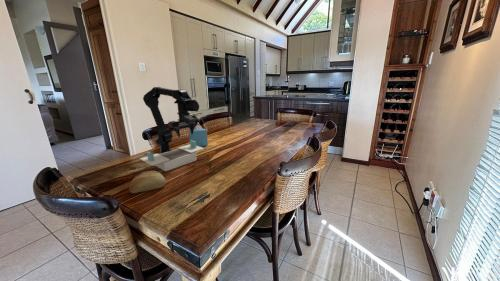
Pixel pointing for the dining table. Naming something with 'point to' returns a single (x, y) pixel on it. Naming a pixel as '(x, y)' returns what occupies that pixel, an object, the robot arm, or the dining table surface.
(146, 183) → the bread roll
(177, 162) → the carton
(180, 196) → the dining table surface
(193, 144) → the far flap
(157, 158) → the near flap
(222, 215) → the dining table surface
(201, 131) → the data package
